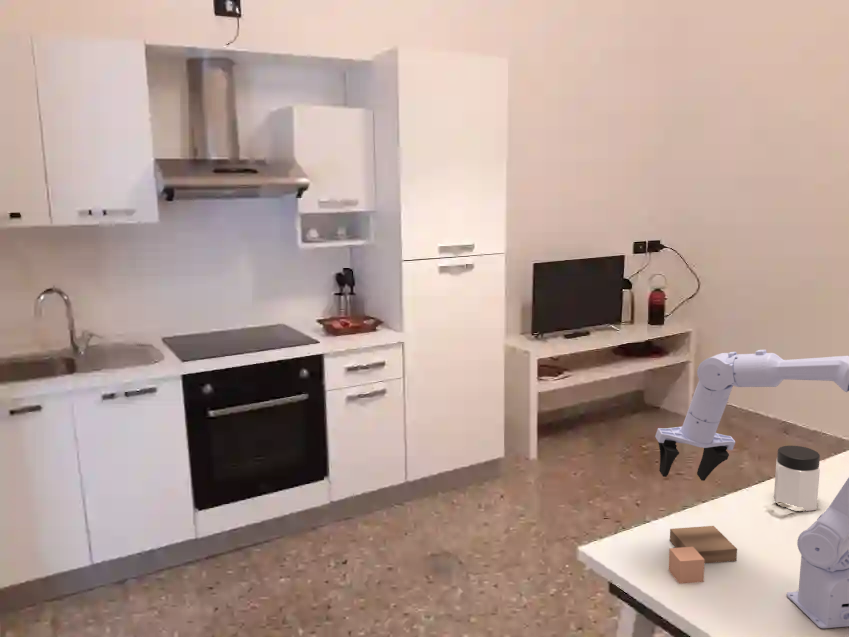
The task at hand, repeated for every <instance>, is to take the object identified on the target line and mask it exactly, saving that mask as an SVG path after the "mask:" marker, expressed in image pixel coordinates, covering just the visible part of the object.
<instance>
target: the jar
mask: <svg viewBox="0 0 849 637" xmlns="http://www.w3.org/2000/svg"><path fill="white" fill-rule="evenodd" d="M776 456H777V457H776V460H775V461H776V462H775V464H776V465H775V475H774V476H775V477H774V491H773V497H774V498H773V499H774V501H776V502H783V503H787V504H790V505H794V506H797V507H803V508H804V510H806V511H805V512H810V511H817V509H818V508H817V507H818V497H819V496H818V495H819V487H820V486H819V485H820V473H821V471H820V460H821V455H820V453H819V452H817V451H816V450H814V449H812V448H808V447H806V446H799V445H783V446H780V447H779V448H777V455H776ZM776 502H775V503H776Z"/></svg>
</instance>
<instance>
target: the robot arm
mask: <svg viewBox="0 0 849 637" xmlns="http://www.w3.org/2000/svg"><path fill="white" fill-rule="evenodd" d="M696 375H697V378H698V382H697V385H696V387H695V390H694V393H693V395H692V397H691V401H690V403H689V407H688V409H687V412H686V415H685V418H684V420H683V423H682V425H681V426H675V427H674V426H673V427H668V428H666V427H665V428H661V427H658V428H657V429H656V432H655V436H654V438H656V441H657V444H658V448H659V470H658V471H659V472H660V475H661V476H662V477H665V478H668V476H669V474H670V471H671V468H672V465H673V464H674V462H675V460H676V458H677V457H678V455H680V452H679V450H678V448H677V446H678V445H677V443H678V444H686V445H690V446H694V447H697V448H703V451H702V457H701V460H700V463H699V464H698V468H697V472H696V474H697V477H699V479H700V481H702V482H704V481H706V479H707V478H708V477H709V475H710V474H711V473H712V472H713V471H714V470H715V469H716V468H717V467H719V465H720V464H722V463H724V462H725V461H726V460H728V458H729V457H730V453H728V451H733V449H734V448H735V444H736V441H735V439H734V438H733V437H732V436H731V435H726V434H721V433H717V431H718V428H719V425H720V422H721V420H722V417H723V414H724V412H725V410H726V407H727V404H728V401H729V398H730V395H731V392H732V390H733V387H736V388H774V387H775V388H776V387H778V386H779V385H780V384H781V383H782V382H783V381H784V380H792V381H793V380H795V381H821V382H822V381H826V382H827V381H829V382H833V383H835V384H836V385H837V386H838V387H839V388H840V389H841V390H842V391H843V392H844V393H848V392H849V355H838V356H826V357H823V356H822V357H811V358H810V357H809V358H798V359H797V358H795V359H794V358H793V359H792V358H791V359H783V357H781V356H779V355H778V354H777V353H774V352H767V349H758V350H755V352H754V353H738V352H737V351H730V352H721V353H717V354H714V355H713V356H710V357H707V358H705V359H704V360H702V361H701V362H700V363H699V365H698V367H697V372H696ZM796 544H797V549H798V552H799V554H800V555H801V557H800V567H799V569H800V570H799V580H798V581H799V582H798V590H797V591H788V592H786V596H787V598H789V599H790V601H791V602H793V603H794V604H795V605H796V606H797V607H798V609H800V610H801V611H802V612H803V614H805V615H806V616H807V617H808V618H809V619H810V621H812V622H813V623H814V624H815V626H817V627H818V628H820V629H832V628H833V629H834V628H843V627H849V477H847V479H846V481H845V482H844V484H843V485H842V487H841V488H840V489H839V491H838V493H837V494H836V495H835V497H834V498H833V500H832V502H831V504H829V506H828V508H826V510H825V511H824V512H823V513H822V514H820V515H819V516H818V518H817V519H816V520H815V521H813V523H812V524H811V525H810V526H809V527H808V528H807V529H805V530H803V531H802V532H801V533H800V534H799V535H798V537H797V543H796Z"/></svg>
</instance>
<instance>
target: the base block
mask: <svg viewBox="0 0 849 637" xmlns="http://www.w3.org/2000/svg"><path fill="white" fill-rule="evenodd" d="M669 541H670V542H671V543H672V545H673V546H674V548H681V547H694V548H695V549H696V550H697V552H698V553H699V554H700V555H701V556H702V557H703V558H704V559H705V562H704V564H713V563H727V561H729V562H737V554H738V547H736V546H735V545H734V544H733V543H732V542H731V541H730V540H729V539H728V538H727V537H726V536H725V534H723V533H722V532H721V531H720V530H719V529H718V528H716V527H715V525H706V526H692V527H691V526H689V527H677V528H669Z"/></svg>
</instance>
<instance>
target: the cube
mask: <svg viewBox="0 0 849 637" xmlns="http://www.w3.org/2000/svg"><path fill="white" fill-rule="evenodd" d="M704 562H705V559H704V558H703V557H702V556H701V555H700V554H699V553H698V552H697V550H696V549H695V548H694V547H681V548H676V547H671V548H670V547H669V553H668V572H669V573H670V574H671V575H672V576H673V578H674V579H675V580H676V582H677V584H680V585H682V584H692V583H693V584H695V583H704V582H705V581H704V580H705V563H704Z"/></svg>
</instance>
